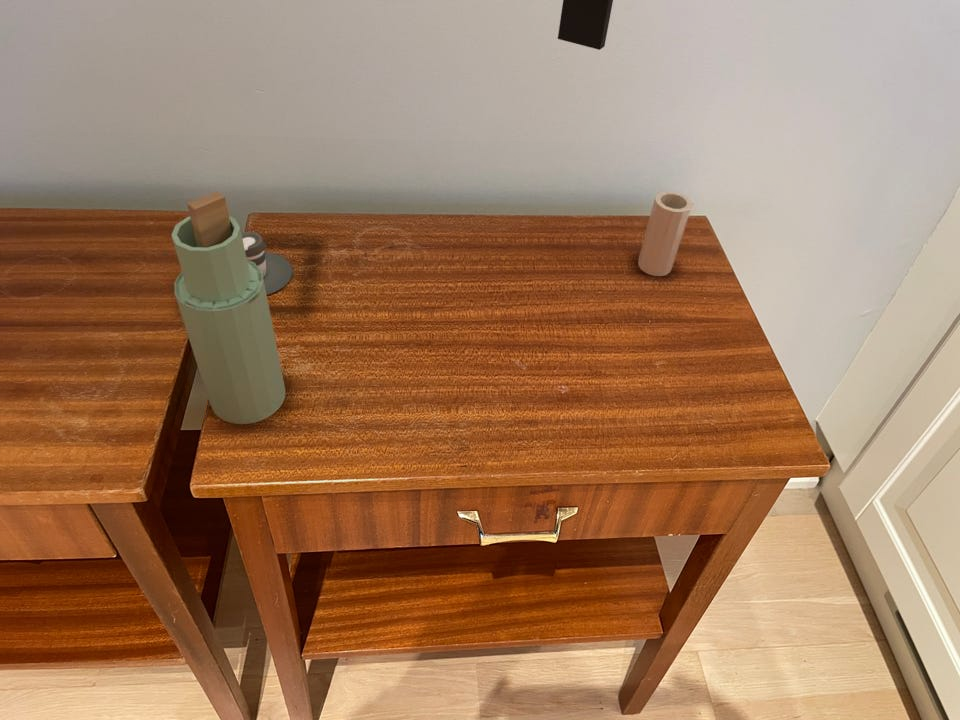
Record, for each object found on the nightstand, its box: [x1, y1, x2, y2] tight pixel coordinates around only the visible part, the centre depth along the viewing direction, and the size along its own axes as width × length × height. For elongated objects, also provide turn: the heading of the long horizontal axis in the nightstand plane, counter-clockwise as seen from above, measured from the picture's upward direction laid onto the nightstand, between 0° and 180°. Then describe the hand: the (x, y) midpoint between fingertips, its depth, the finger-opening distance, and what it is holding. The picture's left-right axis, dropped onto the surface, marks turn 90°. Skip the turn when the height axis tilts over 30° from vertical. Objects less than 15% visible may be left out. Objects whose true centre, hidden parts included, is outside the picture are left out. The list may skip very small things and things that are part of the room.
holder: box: [637, 190, 694, 277], centre depth 83 cm, size 4×4×9 cm
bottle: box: [170, 215, 286, 425], centre depth 62 cm, size 7×7×19 cm
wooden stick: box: [186, 191, 232, 248], centre depth 61 cm, size 2×3×21 cm
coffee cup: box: [241, 231, 294, 296], centre depth 79 cm, size 12×12×5 cm
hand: (622, 17), depth 48 cm, fingers open, 13 cm apart
